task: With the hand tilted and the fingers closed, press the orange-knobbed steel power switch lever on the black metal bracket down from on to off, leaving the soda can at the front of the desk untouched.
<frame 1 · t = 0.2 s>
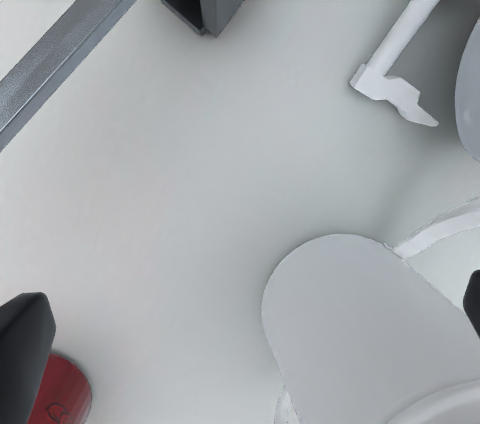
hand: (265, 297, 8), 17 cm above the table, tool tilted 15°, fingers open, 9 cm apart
soda can: (45, 389, 27), on the table
coffeepot: (328, 305, 27), on the table
switch: (72, 39, 13), point 10 cm above the table, hinge at 16.0°
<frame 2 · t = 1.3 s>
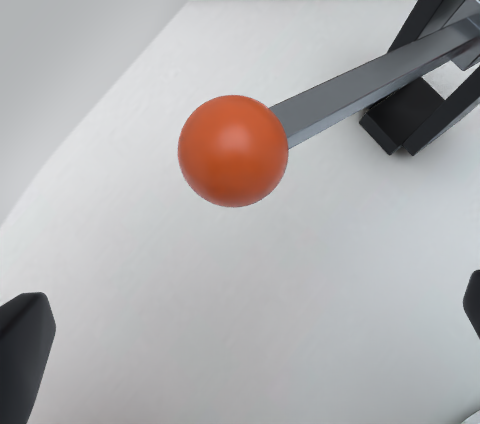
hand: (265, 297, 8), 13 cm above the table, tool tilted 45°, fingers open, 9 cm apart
switch bracket: (400, 119, 24), on the table
switch: (387, 74, 13), point 10 cm above the table, hinge at 16.0°
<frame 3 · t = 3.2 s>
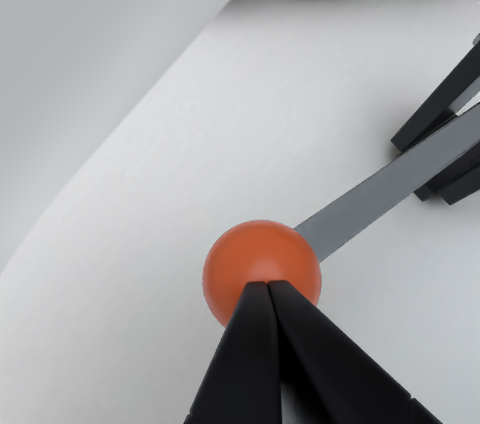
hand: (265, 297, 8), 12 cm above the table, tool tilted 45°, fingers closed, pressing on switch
switch bracket: (434, 161, 23), on the table
switch: (432, 155, 12), point 9 cm above the table, hinge at 10.9°, touching gripper
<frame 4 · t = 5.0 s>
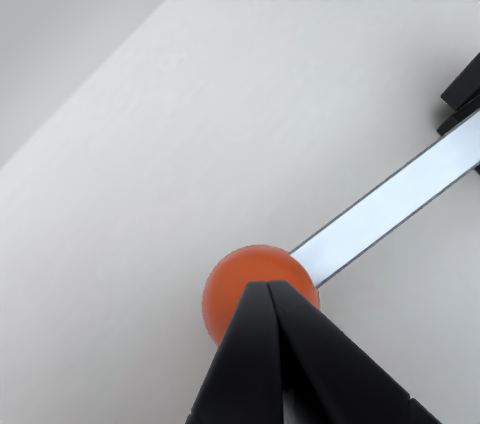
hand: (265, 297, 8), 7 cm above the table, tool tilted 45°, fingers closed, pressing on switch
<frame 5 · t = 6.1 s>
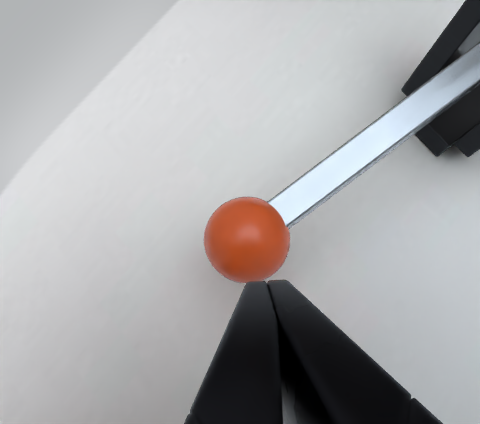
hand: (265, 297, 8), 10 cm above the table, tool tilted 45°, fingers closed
switch bracket: (447, 115, 21), on the table
switch: (413, 113, 13), point 7 cm above the table, hinge at -10.9°
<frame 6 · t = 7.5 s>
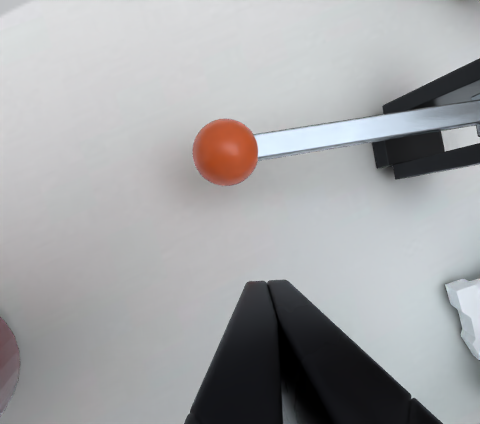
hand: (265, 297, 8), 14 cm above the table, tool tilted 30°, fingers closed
switch bracket: (401, 143, 26), on the table
switch: (377, 128, 17), point 7 cm above the table, hinge at -10.9°
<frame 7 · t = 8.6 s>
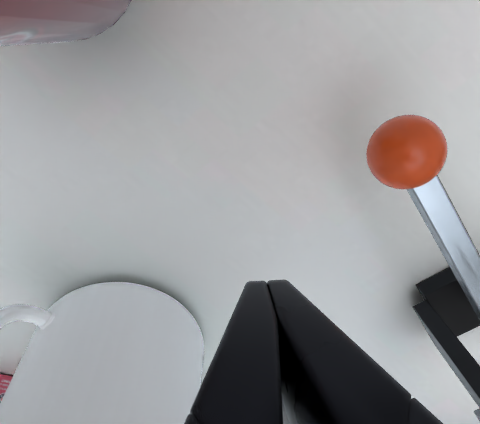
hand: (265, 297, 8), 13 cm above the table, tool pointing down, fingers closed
coffeepot: (120, 332, 25), on the table
switch bracket: (447, 297, 25), on the table
switch: (479, 288, 17), point 7 cm above the table, hinge at -10.9°
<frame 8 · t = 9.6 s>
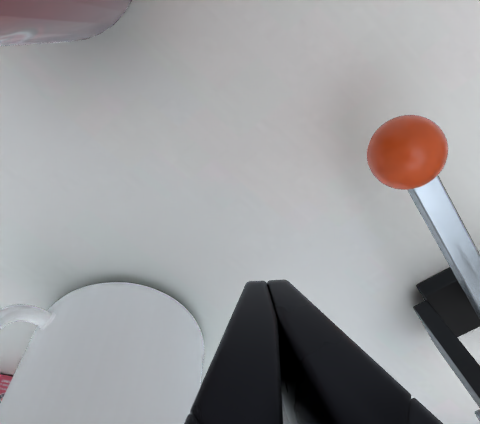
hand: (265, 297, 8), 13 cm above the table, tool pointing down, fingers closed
coffeepot: (121, 332, 25), on the table
switch bracket: (448, 297, 25), on the table
switch: (479, 289, 17), point 7 cm above the table, hinge at -10.9°
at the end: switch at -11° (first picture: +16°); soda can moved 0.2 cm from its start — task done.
